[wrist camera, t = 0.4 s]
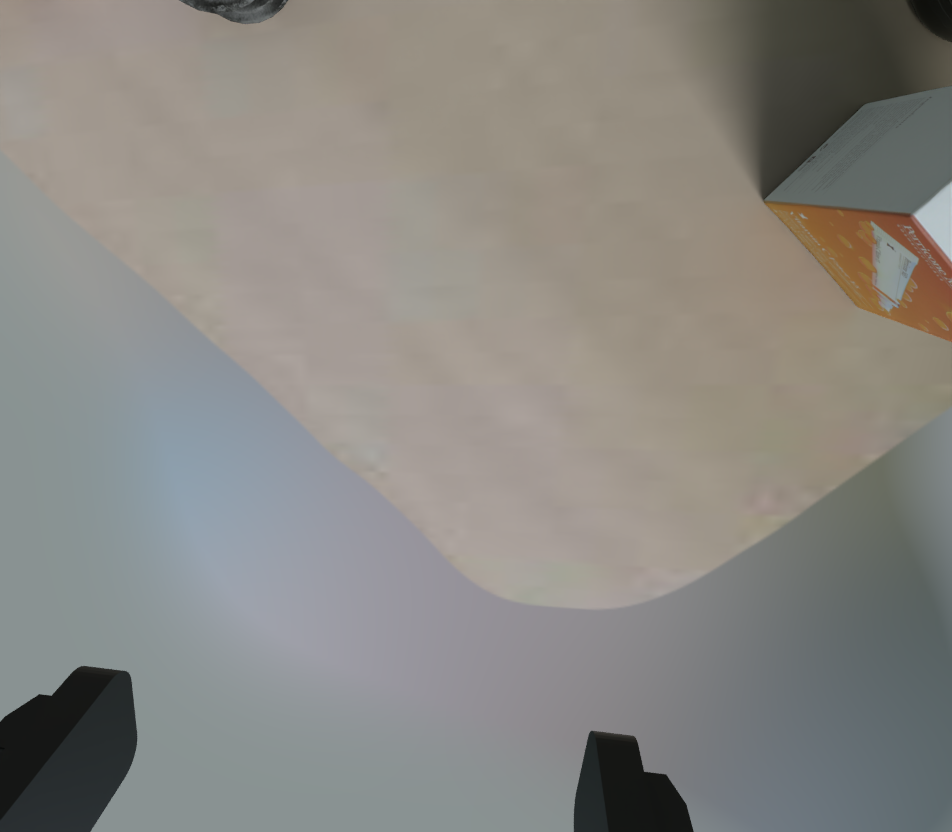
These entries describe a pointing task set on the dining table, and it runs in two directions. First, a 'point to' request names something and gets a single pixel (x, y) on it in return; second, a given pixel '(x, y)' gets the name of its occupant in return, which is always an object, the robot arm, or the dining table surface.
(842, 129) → the small box
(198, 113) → the dining table surface
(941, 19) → the supplement bottle
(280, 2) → the dark grey chess piece
